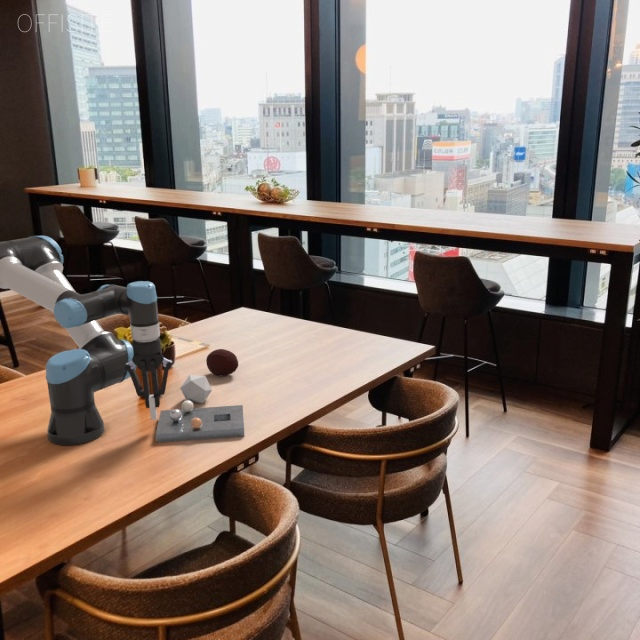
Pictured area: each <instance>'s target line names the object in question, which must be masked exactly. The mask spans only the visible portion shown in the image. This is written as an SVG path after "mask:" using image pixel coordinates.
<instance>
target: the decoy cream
mask: <svg viewBox="0 0 640 640" xmlns="http://www.w3.org/2000/svg"><path fill="white" fill-rule="evenodd" d="M193 408H194V403H192V402H191V401H189V400H186V399H185V400H184V401H183V402H182V404H181V409H183V410H184V411H185V412H190V411H191V410H192V409H193Z"/></svg>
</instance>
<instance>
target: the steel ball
mask: <svg viewBox="0 0 640 640" xmlns="http://www.w3.org/2000/svg"><path fill="white" fill-rule="evenodd" d="M178 409H179V408H176V409H171V410H172V411H171V413H170V418H171V420H173V421H179V420H180V419H181V417H182V413H181V411H180V410H178Z"/></svg>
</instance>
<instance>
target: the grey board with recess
mask: <svg viewBox="0 0 640 640" xmlns="http://www.w3.org/2000/svg"><path fill="white" fill-rule="evenodd" d="M243 406H244V405H243V404H239V405H237V404H236V405H226V406H225V405H224V406H208V407H195V408H194V407H193V409H192V410H191V411H190V412H185V411H184V410H183V409H182V408H181V409H180V408H177V409H178V410H180V411H181V413H182V417H181V419H180V420H179V421H173V420H171V418H170V413H171V411H172V410H173V409H165V410H163V409H162V410H160V414H159V417H158V422H157V427H156V431H155V438H156V439H155V440H156V443H172V442H182V441H184V442H185V441H186V442H187V441H198V440H210V439H211V440H213V439H225V438H226V439H227V438H239V437H241V438H242V437H245V424H244V423H245V422H244V409H243V408H244V407H243ZM194 418H199V419H201V421H202V425H201V427H200V428H197V429H195V428H193V427H192V426H191V421H192V420H193V419H194Z"/></svg>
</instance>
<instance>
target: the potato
mask: <svg viewBox="0 0 640 640" xmlns="http://www.w3.org/2000/svg"><path fill="white" fill-rule="evenodd" d="M205 361H206V366H207V369H208V371H209V372H210V373H211V374H212V375H215V376H218V377H225V376H229V375H232V374H233V373H235V372H236V371H237V370H238V367H239V360H238V358H237V356H236V354H235V353H234V352H232V351H230V350H228V349H225V348H217V349H215V350H213V351H211V352H210V353H208V355H207V356H206V360H205Z"/></svg>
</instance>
